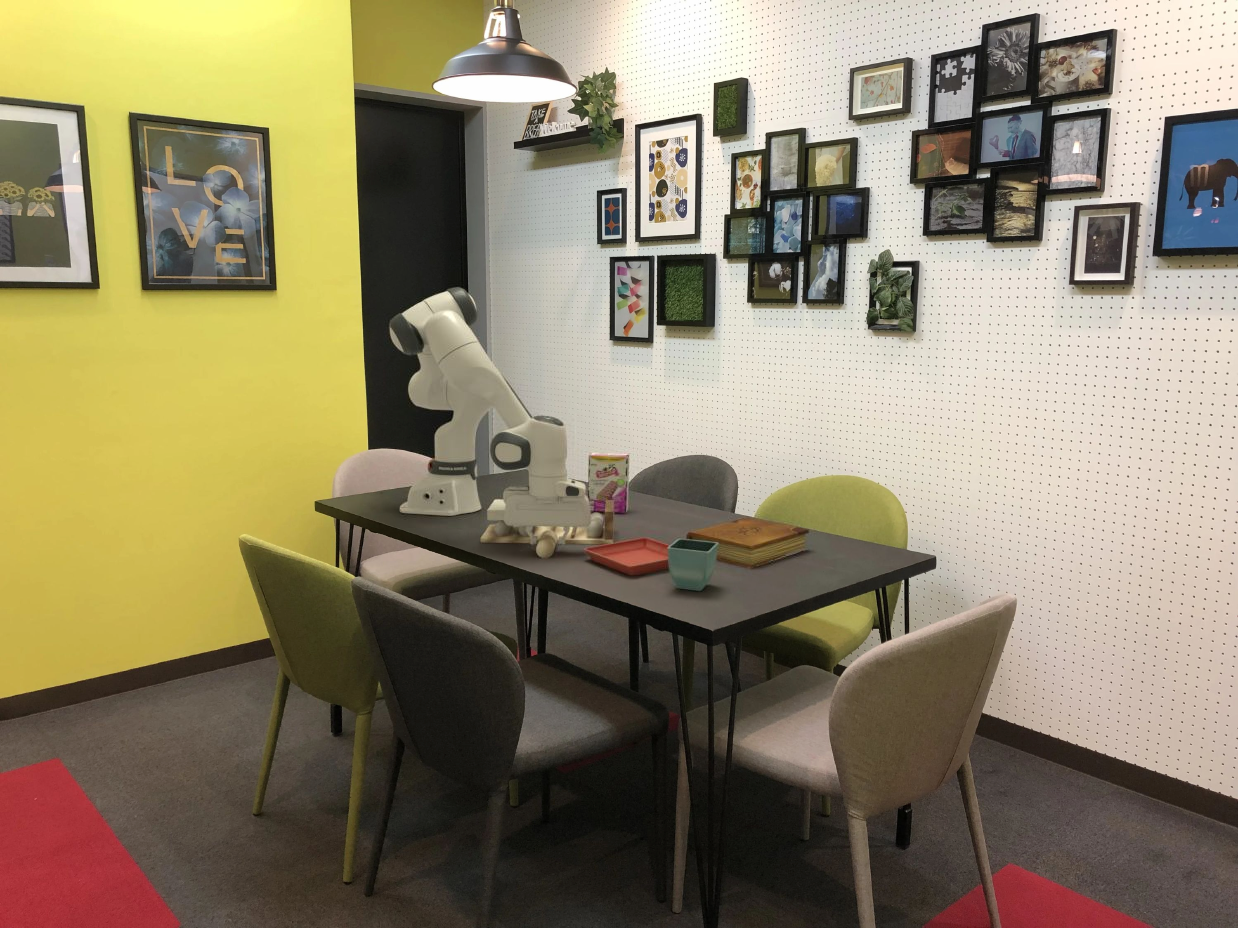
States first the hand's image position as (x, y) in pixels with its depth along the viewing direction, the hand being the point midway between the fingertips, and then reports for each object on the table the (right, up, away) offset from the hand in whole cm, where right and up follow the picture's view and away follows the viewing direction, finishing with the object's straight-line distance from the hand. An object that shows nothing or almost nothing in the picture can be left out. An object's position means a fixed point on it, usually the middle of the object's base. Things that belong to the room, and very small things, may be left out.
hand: (547, 544), depth 218 cm
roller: (0, -2, 0) cm, 2 cm away
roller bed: (-1, +1, +15) cm, 15 cm away
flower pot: (+32, -7, -27) cm, 42 cm away
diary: (+47, -3, +3) cm, 47 cm away
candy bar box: (+14, +5, +45) cm, 47 cm away
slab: (-9, +6, +14) cm, 18 cm away
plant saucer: (+21, -4, -9) cm, 23 cm away
